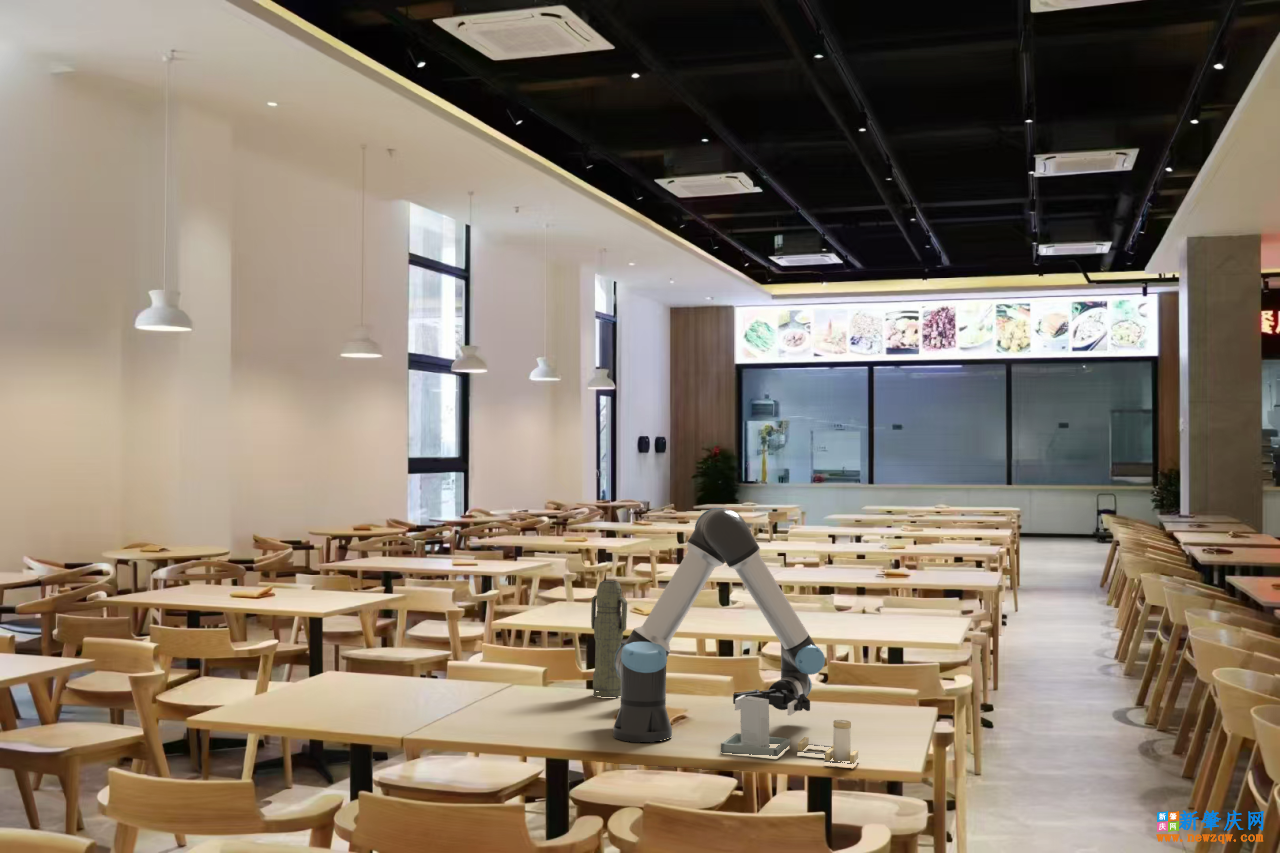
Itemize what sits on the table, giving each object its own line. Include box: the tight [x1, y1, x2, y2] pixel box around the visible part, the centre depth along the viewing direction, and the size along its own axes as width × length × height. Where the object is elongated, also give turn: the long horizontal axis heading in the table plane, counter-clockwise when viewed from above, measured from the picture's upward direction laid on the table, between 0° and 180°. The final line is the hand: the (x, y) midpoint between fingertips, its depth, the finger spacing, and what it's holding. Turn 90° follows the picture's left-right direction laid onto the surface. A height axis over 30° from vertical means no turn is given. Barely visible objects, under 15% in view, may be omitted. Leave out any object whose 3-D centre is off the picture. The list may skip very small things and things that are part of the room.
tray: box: [720, 733, 791, 756], centre depth 283 cm, size 14×13×2 cm
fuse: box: [832, 719, 852, 762], centre depth 271 cm, size 4×4×10 cm
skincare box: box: [740, 696, 770, 748], centre depth 283 cm, size 6×4×12 cm
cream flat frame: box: [796, 736, 859, 764], centre depth 277 cm, size 15×16×3 cm
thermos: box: [590, 580, 628, 697], centre depth 353 cm, size 9×12×35 cm
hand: (762, 707), depth 287 cm, fingers open, 13 cm apart
